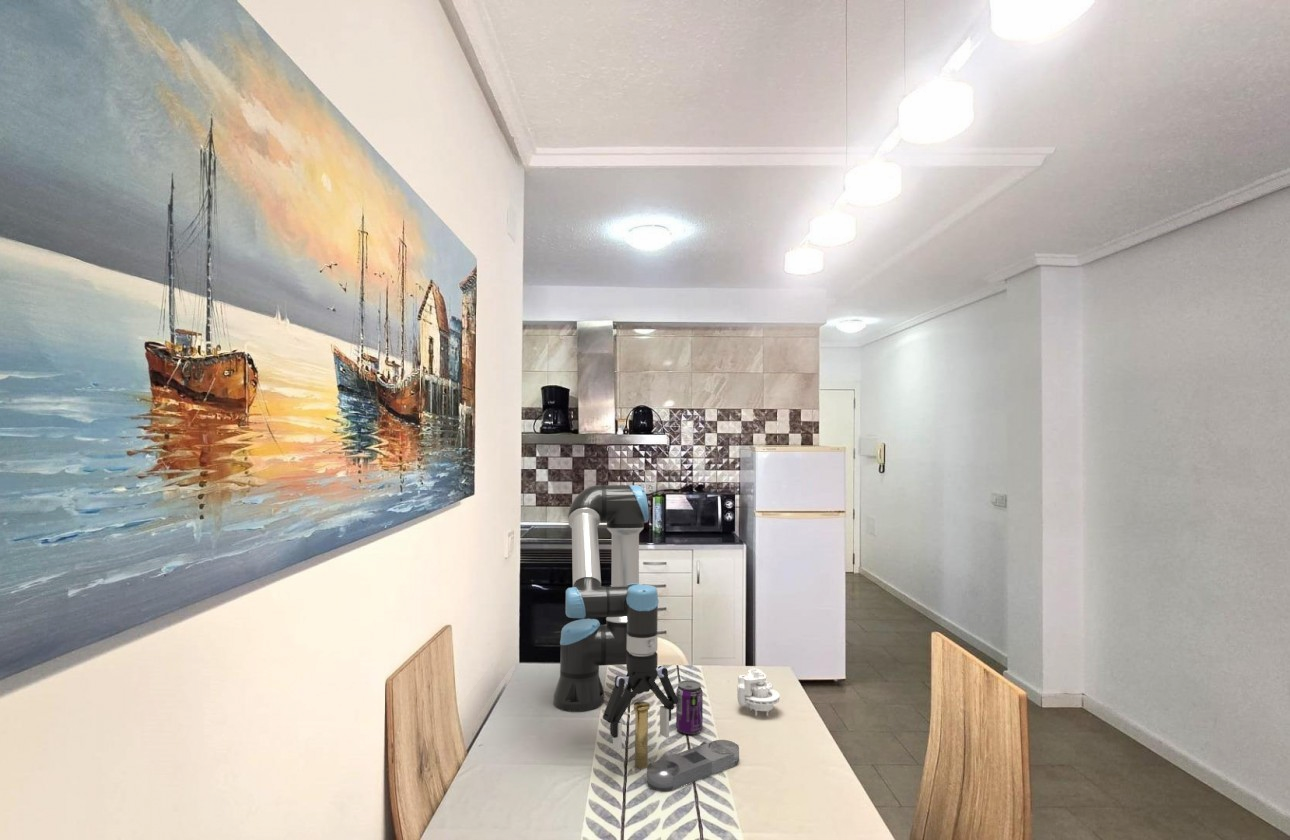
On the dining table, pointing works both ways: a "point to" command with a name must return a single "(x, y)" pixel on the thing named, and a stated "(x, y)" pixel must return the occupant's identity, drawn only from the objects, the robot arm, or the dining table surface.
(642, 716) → the pin
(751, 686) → the mechanical part
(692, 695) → the beverage can
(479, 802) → the dining table surface
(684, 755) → the slotted metal plate
